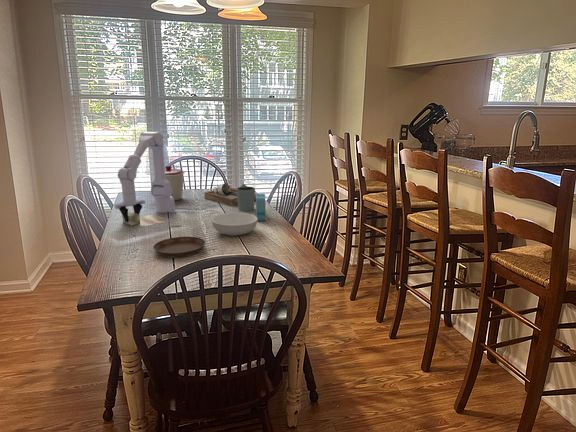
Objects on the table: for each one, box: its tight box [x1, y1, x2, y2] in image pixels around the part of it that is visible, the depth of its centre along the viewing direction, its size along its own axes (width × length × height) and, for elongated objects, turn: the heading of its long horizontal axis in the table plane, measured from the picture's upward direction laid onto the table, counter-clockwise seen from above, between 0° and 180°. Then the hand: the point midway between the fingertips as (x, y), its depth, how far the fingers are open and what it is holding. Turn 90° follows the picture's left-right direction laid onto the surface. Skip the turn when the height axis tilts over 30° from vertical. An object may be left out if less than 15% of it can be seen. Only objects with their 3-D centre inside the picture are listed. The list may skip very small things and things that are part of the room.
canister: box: [153, 164, 185, 202], centre depth 262 cm, size 18×18×21 cm
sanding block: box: [121, 210, 141, 227], centre depth 210 cm, size 4×9×5 cm, turn 45°
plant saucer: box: [153, 236, 206, 259], centre depth 178 cm, size 21×21×3 cm
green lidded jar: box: [236, 186, 256, 212], centre depth 240 cm, size 10×10×12 cm
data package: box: [255, 193, 267, 222], centre depth 222 cm, size 12×4×12 cm, turn 4°
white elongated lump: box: [212, 183, 249, 197], centre depth 263 cm, size 25×10×10 cm, turn 76°
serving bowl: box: [211, 212, 258, 236], centre depth 200 cm, size 21×21×7 cm
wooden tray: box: [203, 187, 257, 207], centre depth 264 cm, size 19×27×4 cm
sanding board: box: [136, 213, 170, 228], centre depth 216 cm, size 15×17×2 cm
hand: (131, 220), depth 210 cm, fingers closed on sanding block, 4 cm apart
